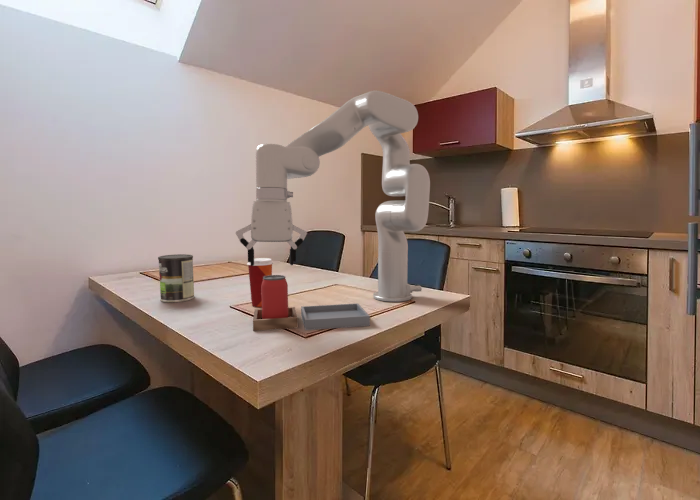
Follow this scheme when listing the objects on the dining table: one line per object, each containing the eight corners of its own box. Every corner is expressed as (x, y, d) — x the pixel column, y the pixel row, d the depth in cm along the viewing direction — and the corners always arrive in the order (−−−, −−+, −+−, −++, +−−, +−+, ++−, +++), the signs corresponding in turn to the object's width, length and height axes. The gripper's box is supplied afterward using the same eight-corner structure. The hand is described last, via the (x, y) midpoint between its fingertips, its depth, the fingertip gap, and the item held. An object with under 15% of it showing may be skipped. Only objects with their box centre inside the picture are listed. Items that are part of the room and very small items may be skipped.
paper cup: (271, 308, 111) (269, 261, 109) (245, 307, 111) (243, 261, 110) (276, 301, 119) (275, 257, 117) (252, 301, 119) (251, 257, 117)
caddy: (295, 315, 102) (294, 307, 102) (297, 327, 92) (297, 317, 92) (255, 318, 100) (254, 309, 100) (253, 330, 90) (252, 320, 90)
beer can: (257, 325, 94) (255, 278, 93) (271, 318, 100) (270, 274, 99) (279, 328, 92) (278, 279, 91) (293, 320, 98) (292, 275, 97)
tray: (358, 312, 106) (358, 303, 106) (369, 325, 94) (369, 316, 93) (301, 315, 103) (301, 306, 103) (305, 330, 90) (305, 320, 90)
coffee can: (166, 304, 116) (163, 259, 114) (156, 298, 123) (153, 256, 122) (199, 298, 123) (197, 256, 121) (188, 293, 130) (186, 253, 129)
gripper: (305, 197, 98) (305, 262, 100) (236, 196, 95) (237, 263, 96) (308, 196, 91) (308, 266, 92) (233, 194, 87) (234, 267, 89)
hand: (272, 264), depth 94 cm, fingers open, 9 cm apart
